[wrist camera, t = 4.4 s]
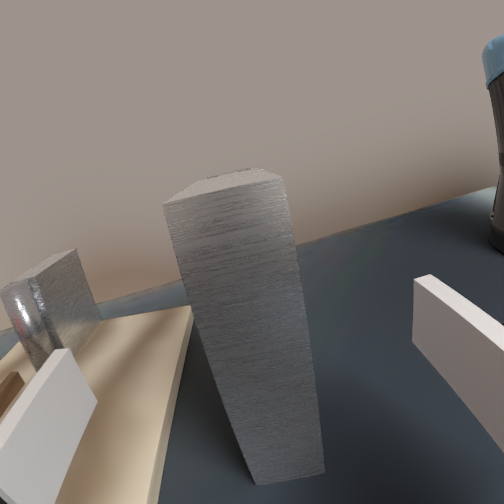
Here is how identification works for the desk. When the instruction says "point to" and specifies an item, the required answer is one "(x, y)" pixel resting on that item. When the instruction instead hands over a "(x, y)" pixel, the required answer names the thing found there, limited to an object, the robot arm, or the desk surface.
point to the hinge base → (119, 405)
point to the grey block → (251, 316)
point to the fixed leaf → (52, 307)
